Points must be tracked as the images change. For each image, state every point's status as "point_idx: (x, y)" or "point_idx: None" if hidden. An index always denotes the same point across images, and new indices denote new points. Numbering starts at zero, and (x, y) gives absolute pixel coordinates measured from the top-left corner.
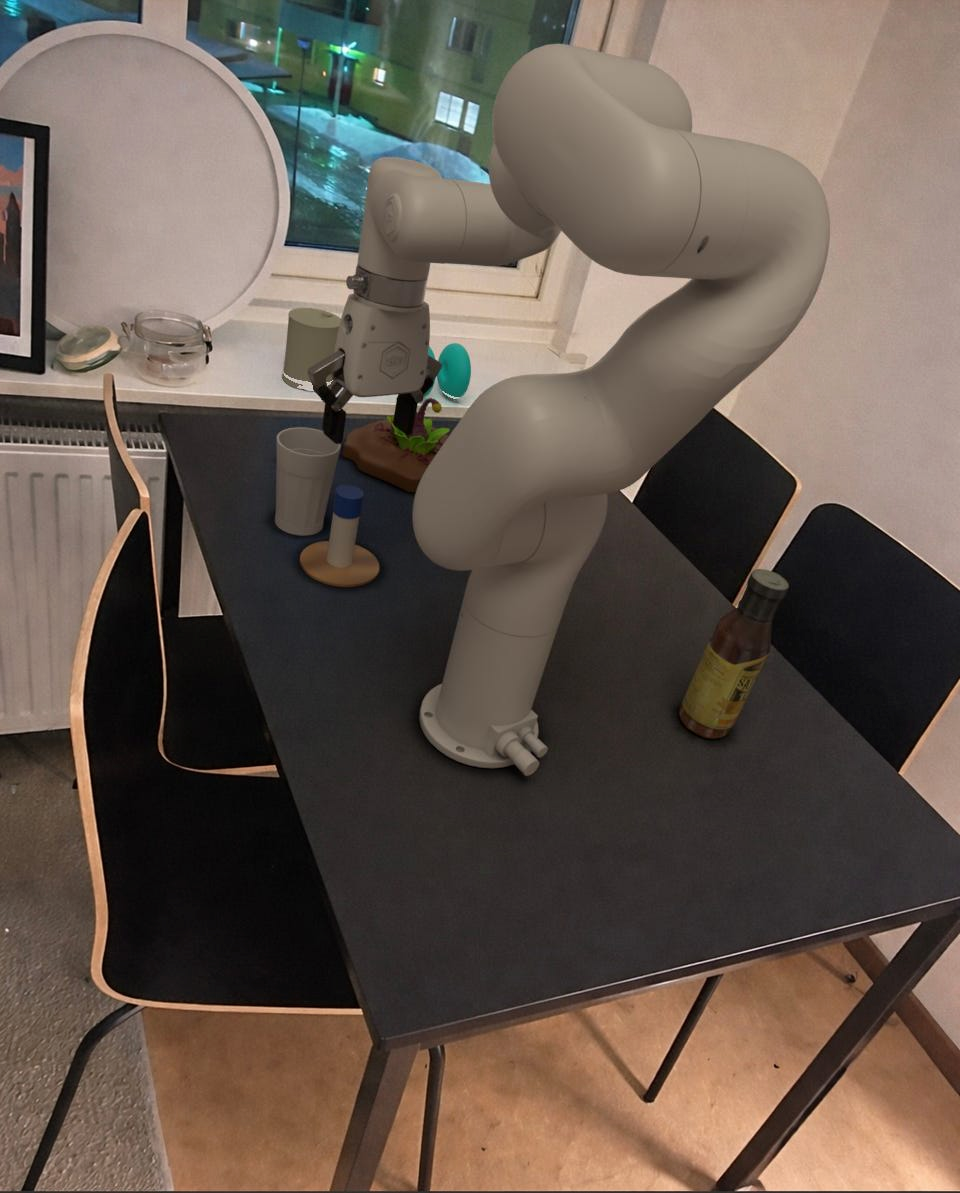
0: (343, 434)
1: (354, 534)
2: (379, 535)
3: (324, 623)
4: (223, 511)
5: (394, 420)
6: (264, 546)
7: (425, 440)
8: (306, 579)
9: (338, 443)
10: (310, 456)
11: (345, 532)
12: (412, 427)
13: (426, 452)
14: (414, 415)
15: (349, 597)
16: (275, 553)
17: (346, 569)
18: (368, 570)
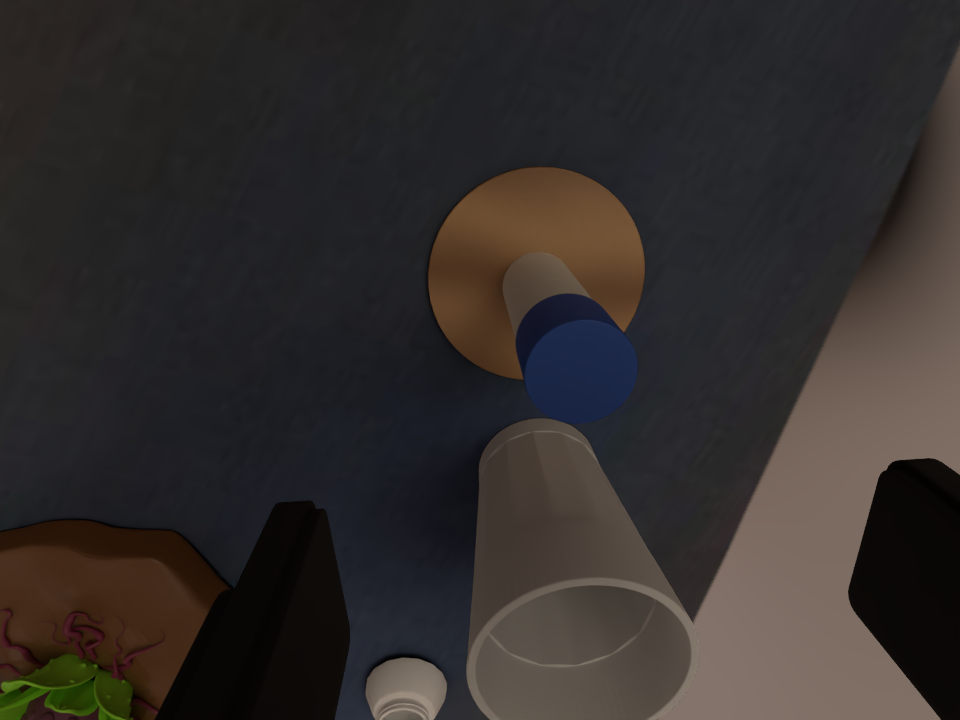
0: (933, 505)
1: (536, 282)
2: (357, 375)
3: (731, 26)
4: (676, 543)
5: (343, 656)
6: (670, 401)
7: (40, 701)
8: (655, 242)
9: (916, 460)
10: (642, 583)
11: (575, 284)
12: (264, 539)
13: (58, 659)
14: (226, 629)
15: (594, 124)
16: (662, 368)
17: (539, 242)
18: (481, 220)
